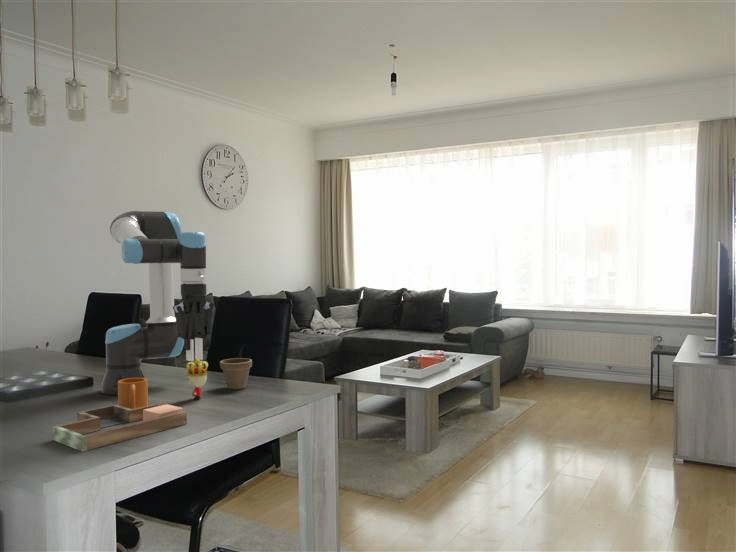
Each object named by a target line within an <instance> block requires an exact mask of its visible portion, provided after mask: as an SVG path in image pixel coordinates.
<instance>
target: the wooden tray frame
mask: <svg viewBox="0 0 736 552" xmlns="http://www.w3.org/2000/svg"><path fill="white" fill-rule="evenodd" d="M157 406H159V404H157V403H154V404H148V406H144V407H140V408H135V409H129V408H126V407H122V406H119V405H118V404H112V405H106V406H100V407H97V408H92V409H91V408H90V409H87V410H83V411H78V412H77V414H76V415H77V416H76V417H77V419H76V420H77V421H72V422H69V423H64V424H60V425H55V426H52V440H53V441H54V442H57V443H60V444H62V445H65V446H67V447H70V448H73V449H75V450H76V451H80V452H82V453H83V452H87V451H90V450H93V449H97V448H102V447H105V446H108V445H113V444H117V443H120V442H124V441H128V440H131V439H136V438H139V437H143V436H147V435H151V434H154V433H158V432H162V431H166V430H170V429H174V428H177V427H181V426H184V425H185V426H186V425H187V424H188V417H187V415H188V413H187V411H185V410H184V411H183V412H179V413H175V414H171V415H167V416H163V417H158V418H154V419H150V420H146V421H143V410H144V409H148V408H153V407H157ZM126 423H129V424H126ZM121 424H126V425H123V426H118V427H114V428H110V429H106V430H102V431H101V429H105V428H109V427H113V426H117V425H121ZM93 432H94V433H93Z"/></svg>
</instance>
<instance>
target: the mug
mask: <svg viewBox="0 0 736 552" xmlns="http://www.w3.org/2000/svg"><path fill="white" fill-rule="evenodd" d="M148 384H149V381H148V378H146V377H145V378H128V379H122V380H119V381H118V395H117V405H119V406H122V407H126V408H129V409H135V408H140V407H144V406H149V392H148V391H149V385H148Z"/></svg>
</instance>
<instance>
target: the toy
mask: <svg viewBox="0 0 736 552" xmlns="http://www.w3.org/2000/svg"><path fill="white" fill-rule="evenodd" d="M208 367H209V363H208V361H205V360H204V361H203V360H199V359H194V361H189V362H187V364H186V366H185V368H186V370H187V382H188V384H189V385H190V387H193V388H194V390H193V391H192V395H191V396H192V397H194V398H193V400H195V401H199V400H200V399H201V397H200V396H203V393H202V388H201V387H203V386H204V385H205V383H206V382H207V378H208V376H207V375H208V371H207V370H208Z"/></svg>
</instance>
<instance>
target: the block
mask: <svg viewBox="0 0 736 552" xmlns="http://www.w3.org/2000/svg"><path fill="white" fill-rule="evenodd" d="M183 411H185V410H184V407H180V406H176V405H172V404H168V403H166V404H162V405H158V406H157V407H153V408H148V409H144V410H143V420H142V421H146V420H150V419H154V418H158V417H163V416H167V415H171V414H175V413H179V412H183Z"/></svg>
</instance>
